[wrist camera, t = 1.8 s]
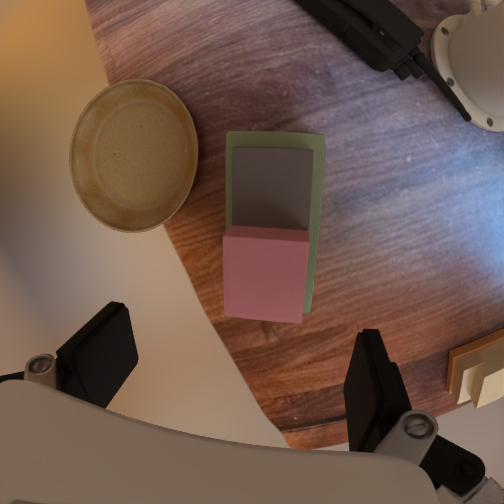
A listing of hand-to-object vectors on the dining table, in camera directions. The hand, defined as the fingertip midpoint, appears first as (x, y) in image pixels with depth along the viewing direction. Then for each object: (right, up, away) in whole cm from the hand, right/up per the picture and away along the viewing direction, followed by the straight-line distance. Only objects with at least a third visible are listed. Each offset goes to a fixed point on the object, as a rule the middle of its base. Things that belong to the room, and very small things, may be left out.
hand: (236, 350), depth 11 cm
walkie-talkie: (+4, +28, +5) cm, 29 cm away
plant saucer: (-11, +13, +16) cm, 23 cm away
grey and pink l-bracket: (+2, +5, +8) cm, 10 cm away
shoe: (+32, -9, +16) cm, 37 cm away
